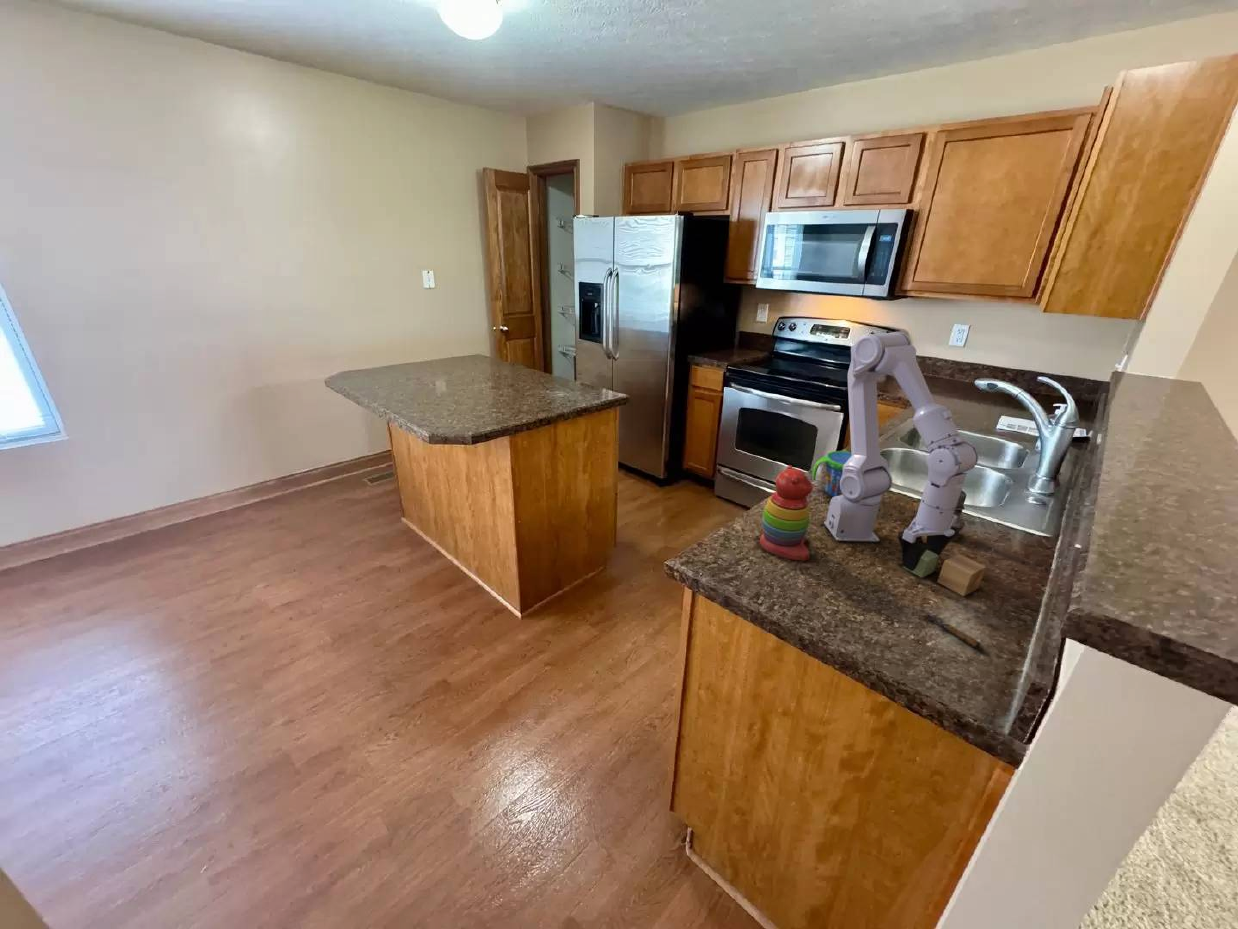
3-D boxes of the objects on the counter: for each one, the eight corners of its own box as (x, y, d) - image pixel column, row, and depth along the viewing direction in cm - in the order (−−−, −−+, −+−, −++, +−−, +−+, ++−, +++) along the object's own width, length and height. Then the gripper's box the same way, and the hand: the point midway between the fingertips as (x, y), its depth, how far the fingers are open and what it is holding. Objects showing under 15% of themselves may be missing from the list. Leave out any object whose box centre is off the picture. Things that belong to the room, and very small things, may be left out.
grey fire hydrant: (959, 544, 112) (975, 495, 108) (929, 535, 116) (943, 487, 111) (962, 533, 117) (978, 486, 112) (933, 525, 120) (947, 478, 115)
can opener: (979, 647, 83) (981, 642, 83) (970, 651, 82) (972, 646, 82) (930, 613, 91) (931, 608, 90) (920, 616, 90) (922, 611, 90)
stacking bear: (810, 562, 105) (826, 484, 97) (759, 556, 106) (771, 478, 99) (804, 535, 114) (818, 462, 107) (757, 530, 116) (768, 457, 109)
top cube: (921, 577, 101) (927, 560, 99) (902, 567, 104) (907, 550, 102) (933, 572, 103) (939, 555, 101) (914, 562, 106) (919, 545, 104)
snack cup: (869, 489, 137) (878, 454, 132) (876, 507, 127) (885, 470, 123) (808, 481, 140) (814, 447, 136) (809, 498, 131) (817, 462, 127)
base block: (963, 596, 96) (971, 574, 94) (937, 582, 100) (944, 560, 98) (977, 588, 98) (986, 566, 96) (951, 574, 102) (958, 553, 100)
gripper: (937, 521, 91) (917, 584, 96) (980, 503, 97) (959, 563, 103) (900, 504, 96) (883, 564, 102) (943, 488, 103) (925, 545, 108)
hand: (919, 562), depth 103 cm, fingers open, 7 cm apart
